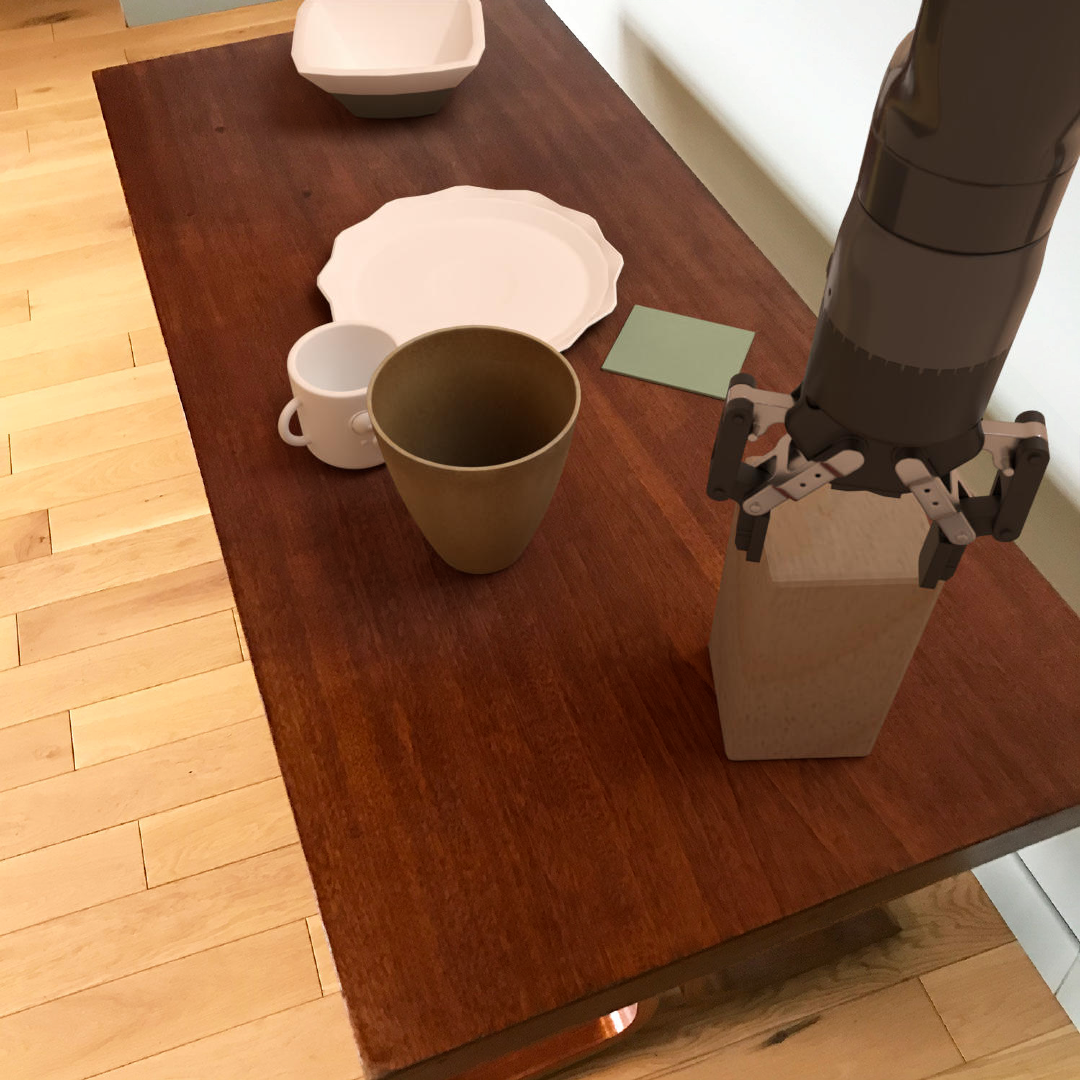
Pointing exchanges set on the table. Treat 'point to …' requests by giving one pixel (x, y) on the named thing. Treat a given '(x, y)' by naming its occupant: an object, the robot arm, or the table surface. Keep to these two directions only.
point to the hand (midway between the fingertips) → (839, 562)
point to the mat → (679, 351)
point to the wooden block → (819, 625)
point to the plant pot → (475, 437)
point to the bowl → (388, 52)
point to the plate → (474, 266)
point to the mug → (336, 391)
